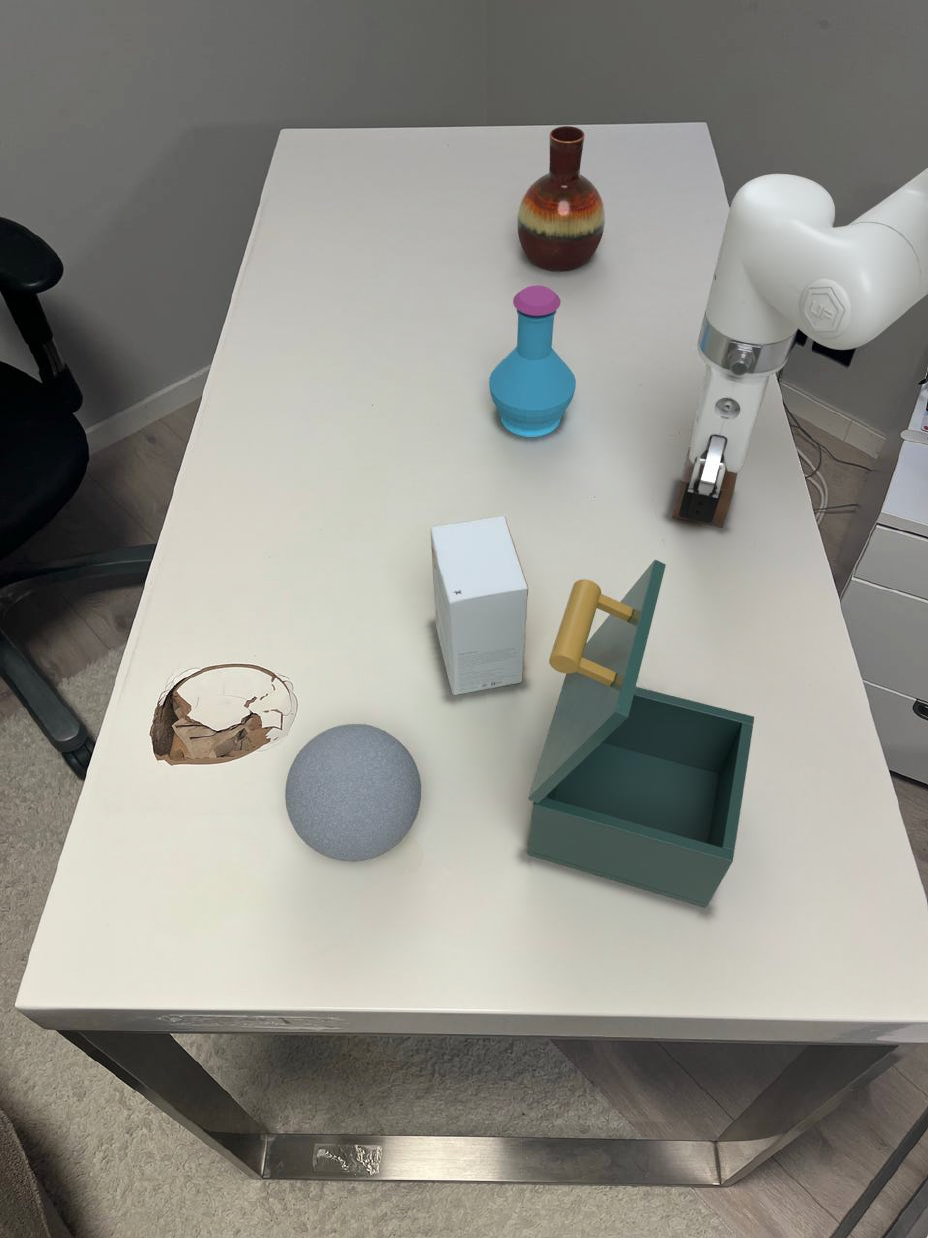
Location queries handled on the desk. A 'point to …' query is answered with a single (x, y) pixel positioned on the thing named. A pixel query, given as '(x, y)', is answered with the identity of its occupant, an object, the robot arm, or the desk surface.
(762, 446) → the desk surface
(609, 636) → the lid
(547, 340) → the perfume bottle
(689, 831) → the green hollow open box
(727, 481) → the block
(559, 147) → the vase
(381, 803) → the decorative stone
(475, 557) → the small box
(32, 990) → the desk surface
